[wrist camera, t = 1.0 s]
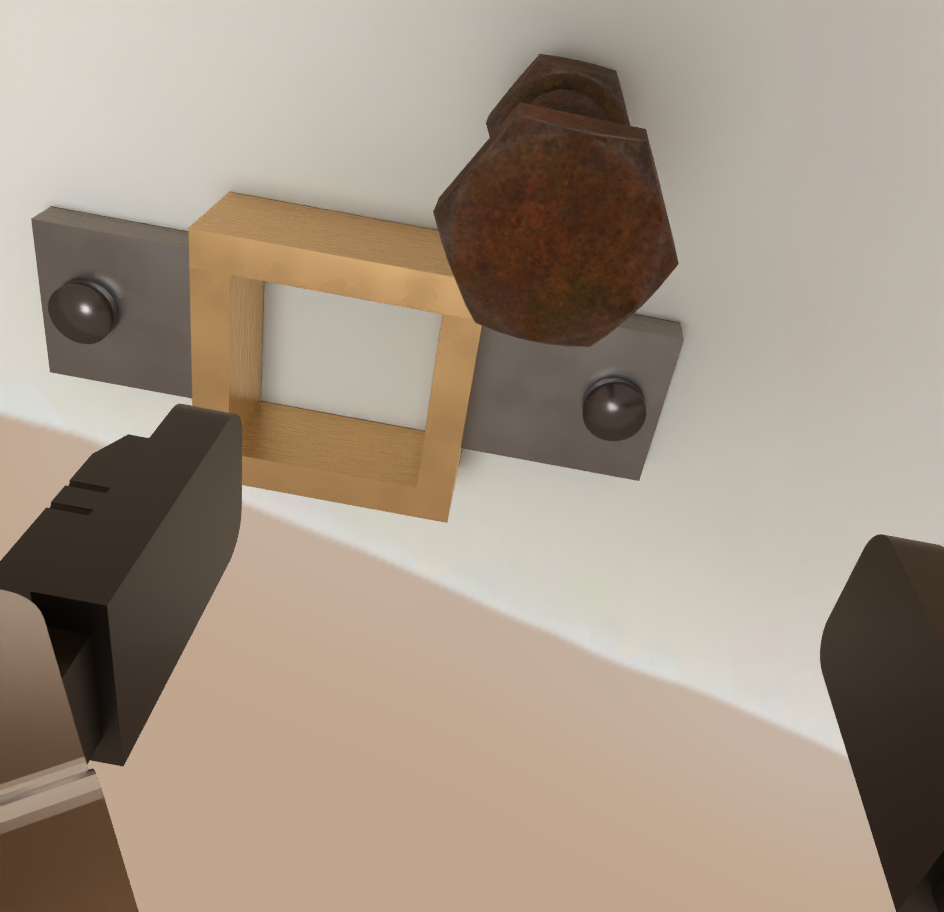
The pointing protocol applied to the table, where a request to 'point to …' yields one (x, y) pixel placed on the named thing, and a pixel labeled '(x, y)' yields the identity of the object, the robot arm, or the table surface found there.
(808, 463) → the table surface
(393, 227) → the square wooden frame
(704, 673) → the table surface
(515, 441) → the gray knob plate
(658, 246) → the bolt
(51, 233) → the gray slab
